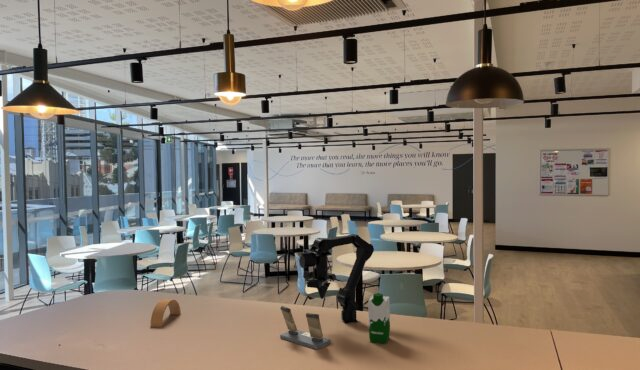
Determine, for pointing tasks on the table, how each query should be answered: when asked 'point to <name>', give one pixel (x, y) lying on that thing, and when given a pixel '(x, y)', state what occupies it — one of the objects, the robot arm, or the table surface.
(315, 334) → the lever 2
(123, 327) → the table surface
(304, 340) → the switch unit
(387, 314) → the milk carton
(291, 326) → the lever
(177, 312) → the arch
